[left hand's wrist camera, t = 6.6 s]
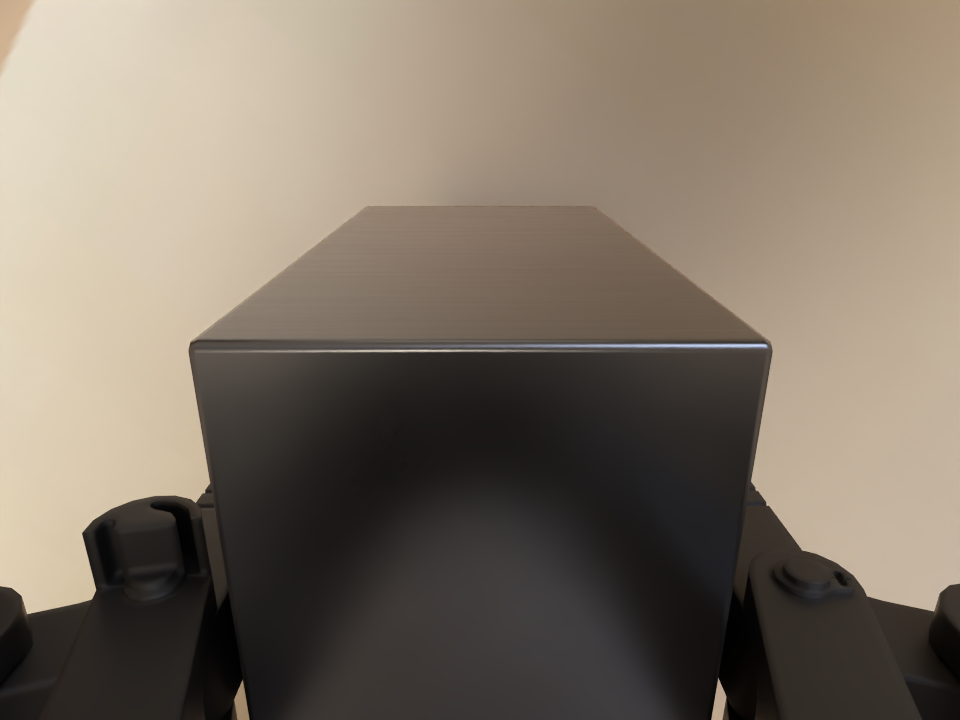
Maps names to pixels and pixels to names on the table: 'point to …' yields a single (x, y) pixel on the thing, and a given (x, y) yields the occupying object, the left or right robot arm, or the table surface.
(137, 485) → the table surface
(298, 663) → the bar
